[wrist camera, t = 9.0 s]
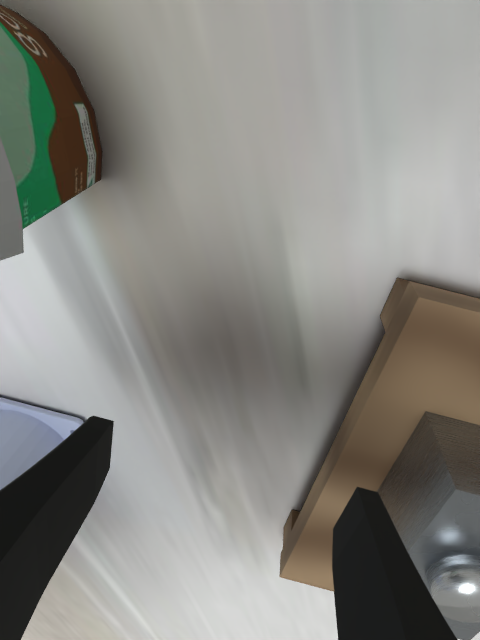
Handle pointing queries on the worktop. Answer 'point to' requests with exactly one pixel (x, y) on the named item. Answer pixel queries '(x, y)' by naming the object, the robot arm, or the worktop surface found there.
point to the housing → (441, 514)
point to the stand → (389, 413)
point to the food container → (40, 130)
